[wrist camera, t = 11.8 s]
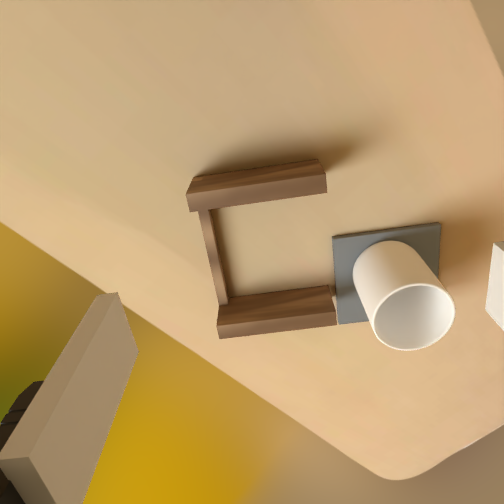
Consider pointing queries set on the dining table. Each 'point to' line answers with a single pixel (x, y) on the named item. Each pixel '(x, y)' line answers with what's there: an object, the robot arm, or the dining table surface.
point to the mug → (402, 296)
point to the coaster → (353, 245)
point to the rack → (230, 309)
